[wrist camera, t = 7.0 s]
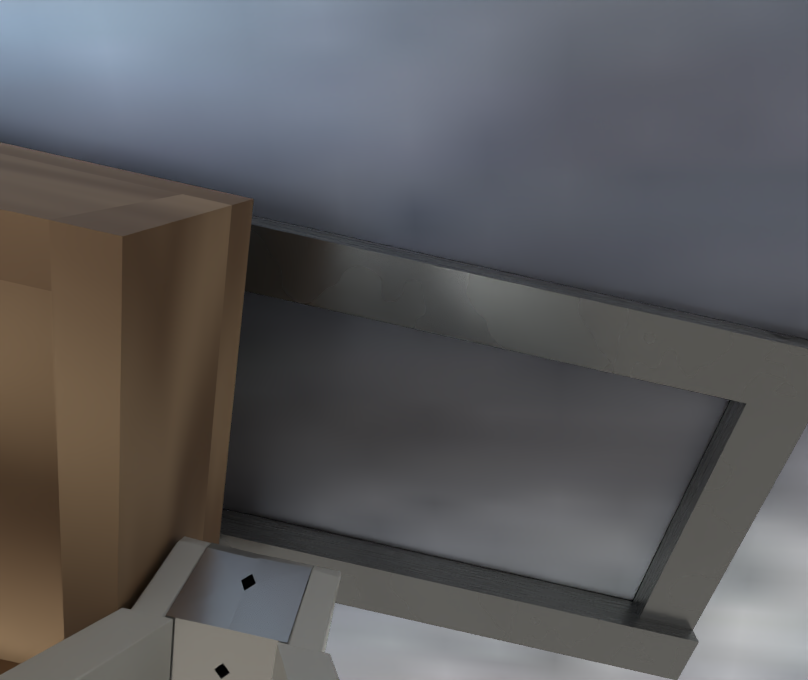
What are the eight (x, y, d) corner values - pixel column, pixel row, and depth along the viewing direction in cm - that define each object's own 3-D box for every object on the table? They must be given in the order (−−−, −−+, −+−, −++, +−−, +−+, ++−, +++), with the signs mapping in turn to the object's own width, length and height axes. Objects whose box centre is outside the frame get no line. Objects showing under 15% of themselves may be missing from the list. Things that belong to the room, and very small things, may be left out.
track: (-259, 101, 13) (-377, 94, 11) (829, 344, 13) (892, 378, 11) (-178, 459, 17) (-256, 499, 15) (664, 650, 17) (691, 714, 15)
